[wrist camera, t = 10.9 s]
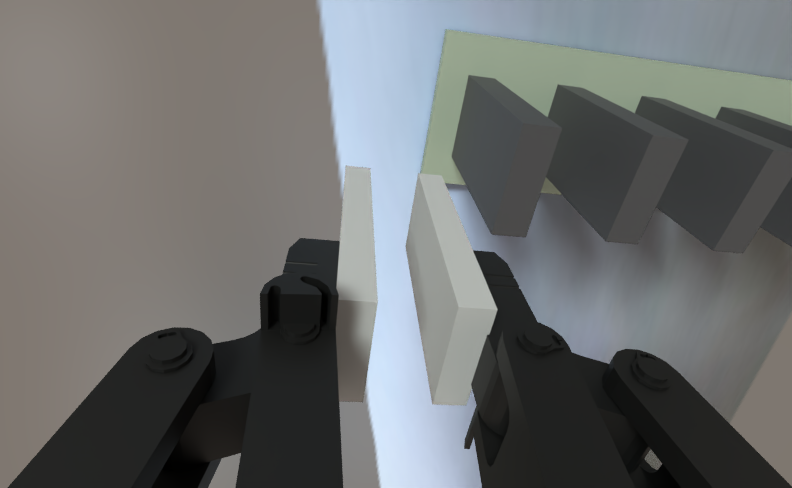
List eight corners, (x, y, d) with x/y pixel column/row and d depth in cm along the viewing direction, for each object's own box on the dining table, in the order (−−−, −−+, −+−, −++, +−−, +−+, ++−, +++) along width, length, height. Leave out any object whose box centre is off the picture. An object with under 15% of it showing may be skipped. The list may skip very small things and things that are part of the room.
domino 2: (557, 84, 26) (653, 135, 18) (582, 87, 26) (688, 139, 18) (533, 163, 29) (605, 241, 20) (555, 165, 29) (637, 244, 20)
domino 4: (721, 106, 27) (883, 163, 19) (743, 109, 28) (914, 167, 19) (684, 179, 30) (812, 259, 22) (704, 182, 30) (840, 261, 22)
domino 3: (641, 95, 27) (773, 150, 18) (665, 99, 27) (806, 154, 18) (610, 171, 29) (713, 250, 21) (632, 174, 30) (742, 253, 21)
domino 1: (468, 74, 25) (523, 123, 17) (494, 78, 26) (562, 127, 17) (451, 156, 28) (491, 234, 19) (475, 159, 28) (525, 237, 20)
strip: (445, 29, 25) (447, 30, 24) (851, 89, 28) (860, 91, 28) (419, 177, 29) (420, 180, 29) (771, 213, 33) (778, 216, 32)
